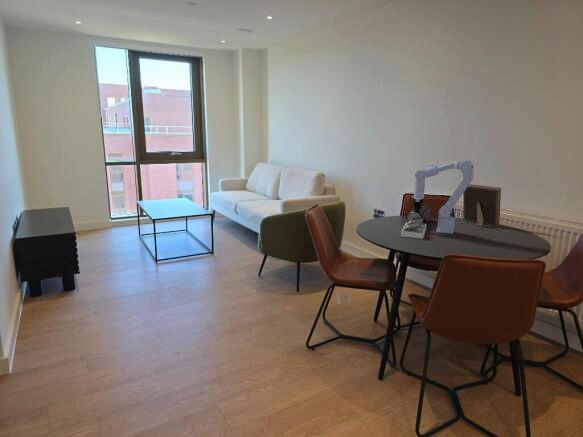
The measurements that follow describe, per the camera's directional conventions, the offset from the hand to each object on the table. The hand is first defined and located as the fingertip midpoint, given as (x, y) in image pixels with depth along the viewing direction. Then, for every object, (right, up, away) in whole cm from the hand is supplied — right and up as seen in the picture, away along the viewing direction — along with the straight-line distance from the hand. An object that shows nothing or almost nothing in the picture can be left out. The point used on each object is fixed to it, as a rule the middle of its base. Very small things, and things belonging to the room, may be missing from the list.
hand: (417, 211), depth 242 cm
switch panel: (-5, -13, -9) cm, 16 cm away
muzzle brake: (+6, -7, +17) cm, 19 cm away
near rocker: (-7, -10, -15) cm, 19 cm away
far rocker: (-3, -7, -5) cm, 9 cm away
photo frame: (+45, -8, +17) cm, 48 cm away
